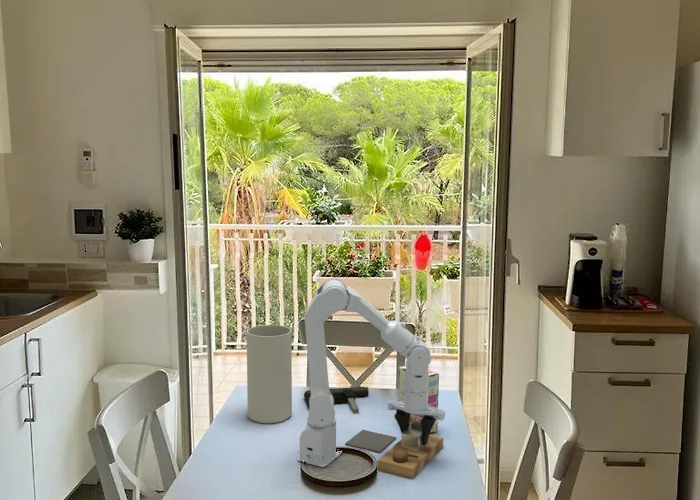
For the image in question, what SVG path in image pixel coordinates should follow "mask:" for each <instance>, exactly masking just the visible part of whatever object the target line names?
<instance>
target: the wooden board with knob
mask: <svg viewBox="0 0 700 500" xmlns="http://www.w3.org/2000/svg"><path fill="white" fill-rule="evenodd" d="M443 448H444V436H439V435H434V434H429V442H428V443H427V444H426V445H425V446H424V447H423V448H422V449H421V450H420V451H419V452H413V451H409V450H408V448H406V447H403V446H401V439H400V440H398V441H397V442H396V443H395V445H393V446H392V447H391V448H390V449H388V450H387V451H386V452H385V453H384V454H383V455H382V456H381V457H380V458H379V459H378V460H377V471H379V472H383V473H388V474H392V475H395V476H399V477H402V478H403V477H404V478H408V479H411V480H413V479H415V478H416V476H417V475H418V474H419V473H420V472H421V470H422V469H424V468H425V467H426V465H428V463H430V461H431V460H432V459H433V458H434V457H435V456H436V455H437V454H438V453H439V452H440V451H441V449H443Z"/></svg>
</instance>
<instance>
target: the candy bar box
mask: <svg viewBox="0 0 700 500" xmlns="http://www.w3.org/2000/svg"><path fill="white" fill-rule="evenodd" d="M405 371H406V365H403V366H399V367H398V398H397V399H398V400H397V401H405ZM428 372H429V376H428V405H429V406H432V407H434V408H437V409H439V389H440V388H439V387H440V386H439V382H440V373H438V372H435V371H432V370H430V369H428ZM423 418H424V416H421V415H417V414H410V421H409V426H410V425H411V424H412V423H413V422H419V423H421V420H422V419H423ZM438 421H439V420H438V419H436V421H435V423H434V425H433V427H432V429H431V431H430V434H431V435H433V434H435V433H437V432H438V423H439V422H438Z"/></svg>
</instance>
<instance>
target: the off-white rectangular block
mask: <svg viewBox="0 0 700 500" xmlns="http://www.w3.org/2000/svg"><path fill="white" fill-rule="evenodd" d="M400 434H401V436H400V437H401V439H400V440H401V446H403V447H406V448H408V450H409V451H413V452H419V451H420V450H421V449H422V448H423V447H424V446H423V445H422V427H421V423H419V422H413V423H412V424H411V425H410V426H409V427H408V428H407V429H406V430H405V431H403V432H402V433H401V432H400ZM428 442H429V438H428Z"/></svg>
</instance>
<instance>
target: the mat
mask: <svg viewBox="0 0 700 500" xmlns="http://www.w3.org/2000/svg"><path fill="white" fill-rule="evenodd" d="M396 440H397V436H393V435H388V434H383V433H380V432H374V431H371V430H367V429H362V430H360V431H359V432H358V433H357V434H355V435H354V436H352V437H351V438H349V440H347V441H346V442H345V443H344V445H345V446H347V447H353V448H357V449H361V450H364V451H369V452H374V453H376V454H377V453H378V454H381V453H382V452H384V450H386V448H388V447H389V446H390V445H391V444H392V443H393V442H395V441H396Z"/></svg>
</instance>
